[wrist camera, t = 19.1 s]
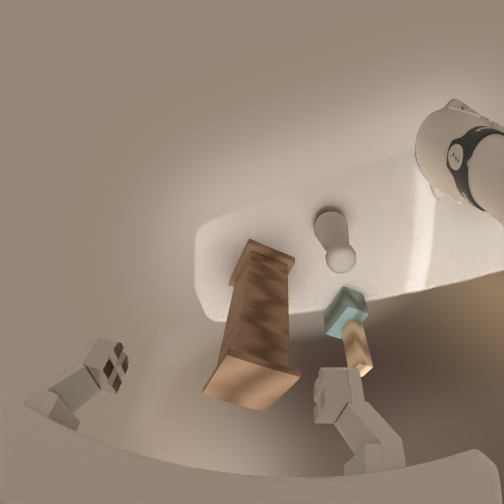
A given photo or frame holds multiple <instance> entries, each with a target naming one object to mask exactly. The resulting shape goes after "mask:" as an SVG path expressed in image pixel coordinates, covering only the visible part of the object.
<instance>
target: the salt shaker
mask: <svg viewBox="0 0 504 504" xmlns="http://www.w3.org/2000/svg"><path fill="white" fill-rule="evenodd" d="M314 232H315V236H316V237H317V239H318V240H319V241H320V243H321V244H322V246H323V247H324V249H325V250H326V252H327V253H326V262H327V265H328V267H329V268H330V269H331V271H333V272H336V273H345V272H348V271H350V270H351V269H352V268H353V267H354V265H355V263H356V252H355V251H354V249H353V248H352V247H351V245H349V237H348V224H347V221H346V219H345V218H344V217H343V215H341V214H339V213H337V212H335V211H332V212H326V213H322V214H321V215H320V216H319V217H318V218H317V219H316V221H315V225H314Z"/></svg>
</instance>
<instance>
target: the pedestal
mask: <svg viewBox="0 0 504 504" xmlns="http://www.w3.org/2000/svg"><path fill="white" fill-rule="evenodd" d="M294 263H295V258H293V257H291V256H288V255H286V254H284V253H281V252H279V251H276V250H274V249H272V248H269V247H267V246H264V245H262V244H260V243H257V242H255V241H252V240H250V239H249V241H248V243H247V245H246V247H245V249H244V251H243V253H242V255H241V257H240V259H239V262H238V264H237V266H236V268H235V270H234V272H233V274H232V276H231V278H230V280H229V284H228V285H231V286H233V287H234V290H233V295H232V299H231V304H230V308H229V313H228V318H227V322H226V327H225V332H224V337H223V341H222V345H221V350H220V355H219V359H218V364H217V367H216V369H215V370H214V372H213V374H212V375H211V377H210V379H209V380H208V382H207V383H206V385H205V386H204V388H203V392H202V394H204V395H207V396H210V397H213V398H217V399H220V400H223V401H226V402H230V403H233V404H237V405H240V406H244V407H248V408H252V409H256V410H260V411H265V410H266V409H267V408H269V407H270V406H271V405H272V404H273V403H274V402H275V401H276V400H277V399H278V398H279V397H281V396H282V395H283V394H284V393H285V392H286V391H287V390H288V389H289V388H290V387H291V386H292V385H293V384H294V383H295V382H296V381H297V380H298V379H299V378H300V377H301V375H300V370H297V369H293V368H290V367H289V317H288V316H289V314H288V273H289V271H290V270H291V268H292V266H293V265H294Z"/></svg>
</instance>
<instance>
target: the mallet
mask: <svg viewBox="0 0 504 504" xmlns="http://www.w3.org/2000/svg"><path fill="white" fill-rule="evenodd" d="M368 315H369V312H368V309H367V306H366V303H365V300H364V297H363V294H361V293H358V292H355V291H353V290H350V289H348V288H345V287H343V288H342V289H341V290H340V292H339V293H338V294H337V296H336V297H335V299H334V300H333V301H332V303H331V304H330V305H329V307H328V308H327V309H326V311H325V312H324V313H323V316H324V323H325V330H326V334H327V335H330V336H334V337H337V338H340V339H343V341H344V347H345V352H346V358H347V363H348V368H358V369H359V371H360V376H362V377H363V376H364V375H365V374H366V373H367V372H368V371H369V370H370V369H371V368H372V367H373V365H372V361H371V356H370V352H369V348H368V345H367V341H366V337H365V333H364V329H363V326H362V322H363V321H364V319H365V318H366V317H367V316H368Z"/></svg>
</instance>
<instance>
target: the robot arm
mask: <svg viewBox="0 0 504 504" xmlns="http://www.w3.org/2000/svg"><path fill="white" fill-rule="evenodd" d="M460 107H461V108H462V110H460ZM501 129H502V128H501V126H500V125H498V124H496V123H495V122H489V119H487V118H486V117H483V116H480V115H479V114H478V113H477V112H475V111H474V110H472V109H471V108H470V107H468V106H467V105H465V104H464V103H463V102H461V101H459V100H457V99H452V100H451V101H450V102H448V104H447V105H446V106H445V107H444V108H443V109H441V110H438V111H435V112H433V113H432V114H430V115H429V116H428V117H427V118H426V119H425V120H424V122H423V123H422V125H421V127H420V129H419V131H418V134H417V138H416V146H415V151H416V159H417V163H418V166H419V168H420V170H421V172H422V174H423V175H424V176H425V178H426V179H427V180H428V181H429V183H430V185H431V189H432V192H433V195H434V197H435V198H437V199H439V200H453V201H455V202H456V203H458V204H462V203H470V204H471V205H473V206H474V207H476V208H478V209H480V210H482V211H487V212H488V213H489V214H490V215H492V216H493V217H494V218H495V219H496V220H498V221H499V222H500V223H501V224H502V225H504V133H503V132H501ZM123 348H124V347H123V345H122V343H120V342H116V341H112V340H108V339H104V338H101V337H97V336H93V335H90V336H89V337H88V338H87V340H86V341H85V343H84V345H83V346H82V348H81V350H80V351H79V353H78V355H77V356H76V358H75V360H74V362H73V361H70V362H69V363H67V364H65V365H64V366H62V367H60V368H59V369H57V370H55V371H54V372H52V373H50V374H49V375H47V376H45V377H44V378H42V379H40V380H39V381H37V382H36V383H34V385H33V387H32V388H31V390H30V392H29V394H28V396H27V397H26V399H25V401H24V403H23V404H22V403H20V402H18V401H17V400H15V399H13V398H12V397H10V396H9V395H7V394H5V393H4V392H2V391H1V390H0V504H502V497H501V487H500V479H499V474H498V470H497V467H496V465H495V464H494V463H493V462H492V461H491V460H490V459H489V458H488V457H487V456H485V455H484V454H483V453H482V452H480V451H479V450H477V449H471V450H468V451H465V452H462V453H459V454H456V455H452V456H449V457H446V458H442V459H439V460H435V461H431V462H427V463H423V464H418V465H414V466H410V467H406V464H405V457H404V451H403V444H402V439H401V438H400V437H399V436H398V435H397V434H396V433H395V431H394V430H393V429H392V428H391V427H390V426H389V425H388V424H387V423H386V421H385V420H384V419H383V418H382V417H381V416H380V415H379V414H378V413H377V412H376V410H375V409H374V408H373V407H372V406H371V405H370V404H369V403H368V402H365V401H364V394H363V388H362V382H361V377H360V371H359V369H358V368H321V369H320V371H319V378H317V379H316V381H315V385H314V401H315V402H316V403H317V404H316V406H315V408H314V423H335V426H336V427H337V429H338V430H339V432H340V433H341V435H342V436H343V438H344V439H345V441H346V442H347V444H348V445H349V447H350V448H351V449H352V451H353V452H354V454H355V456H354V457H353V458H352V459H351V460H350V461H348V462H347V463H346V464H345V476H334V477H311V478H310V477H309V478H292V477H289V478H288V477H264V476H252V475H242V474H241V475H240V474H233V473H225V472H218V471H211V470H205V469H199V468H193V467H188V466H184V465H179V464H175V463H171V462H166V461H162V460H158V459H155V458H151V457H147V456H144V455H140V454H137V453H133V452H130V451H127V450H124V449H121V448H118V447H115V446H112V445H110V444H107V443H104V442H101V441H99V440H96V439H94V438H91V437H89V436H86V435H84V434H82V433H79V432H77V429H78V427H79V425H80V420H79V419H78V418H77V417H76V416H75V415H74V414H73V413H74V412H75V411H76V410H77V409H79V408H80V407H81V406H82V405H84V404H85V403H86V402H87V401H89V400H90V399H91V398H92V397H94V396H95V395H96V394H97V393H98V392H99V391H101V390H104V391H108V392H111V393H115V394H117V392H118V390H119V387H120V385H121V383H122V381H121V378H120V377H122V376H123V375H125V374H126V371H127V369H128V357H127V355H126V354H125V353H124V352H123V351H122V350H123Z"/></svg>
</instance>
